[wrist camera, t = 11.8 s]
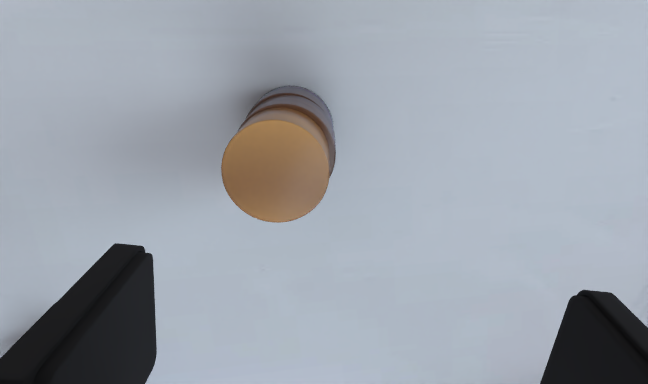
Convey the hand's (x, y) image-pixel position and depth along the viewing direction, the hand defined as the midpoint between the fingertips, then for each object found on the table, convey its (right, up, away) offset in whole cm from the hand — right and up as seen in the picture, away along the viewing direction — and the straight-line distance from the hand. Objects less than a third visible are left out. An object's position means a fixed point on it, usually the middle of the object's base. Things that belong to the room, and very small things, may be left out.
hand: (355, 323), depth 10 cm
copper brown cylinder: (-3, +5, +15) cm, 16 cm away
